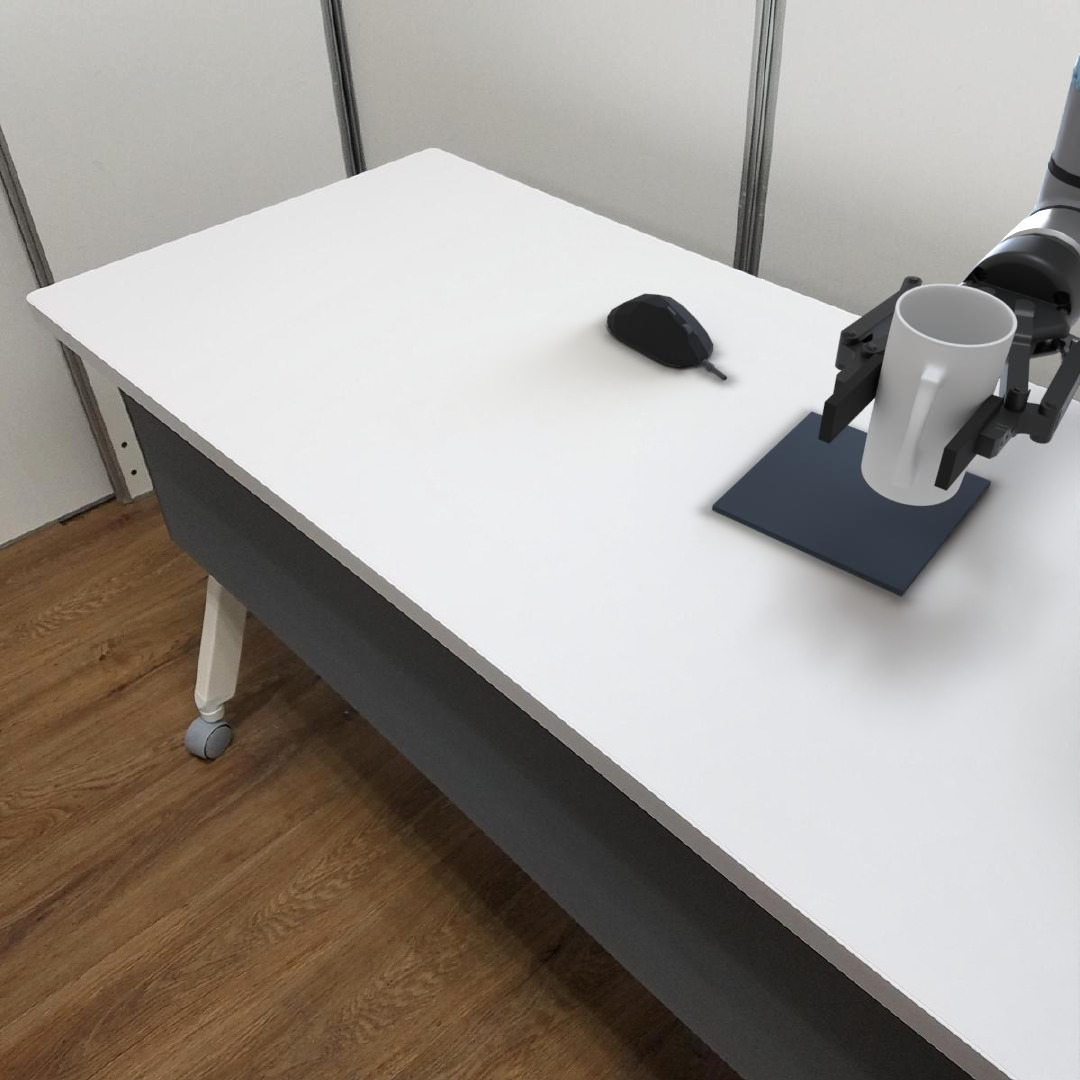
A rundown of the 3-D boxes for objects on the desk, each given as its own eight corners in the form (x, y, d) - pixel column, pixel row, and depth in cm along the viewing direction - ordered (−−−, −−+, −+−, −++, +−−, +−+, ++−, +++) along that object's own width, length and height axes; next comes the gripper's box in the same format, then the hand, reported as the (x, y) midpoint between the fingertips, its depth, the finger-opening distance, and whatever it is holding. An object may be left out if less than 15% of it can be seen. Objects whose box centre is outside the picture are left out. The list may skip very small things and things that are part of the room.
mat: (989, 485, 91) (991, 480, 90) (901, 596, 81) (902, 591, 81) (810, 415, 98) (811, 410, 98) (711, 510, 89) (712, 505, 89)
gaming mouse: (700, 392, 101) (703, 354, 99) (593, 326, 110) (594, 289, 107) (750, 367, 104) (754, 329, 101) (642, 305, 113) (644, 268, 110)
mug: (872, 431, 76) (911, 273, 68) (973, 460, 74) (1027, 299, 66) (828, 521, 70) (866, 357, 62) (938, 555, 68) (993, 390, 59)
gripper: (1164, 378, 76) (1036, 564, 63) (892, 290, 85) (731, 437, 72) (1205, 277, 71) (1076, 456, 58) (912, 196, 80) (742, 334, 67)
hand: (885, 445), depth 65 cm, fingers closed on mug, 7 cm apart
